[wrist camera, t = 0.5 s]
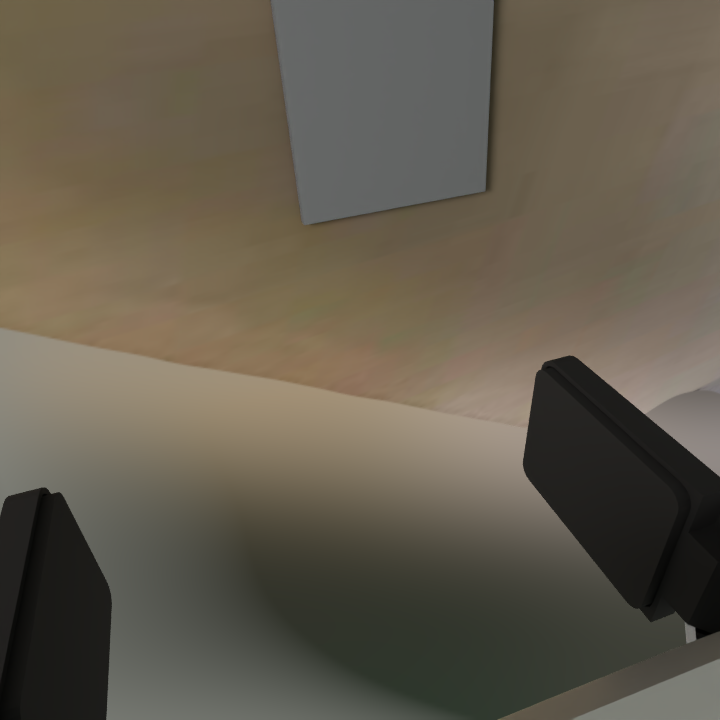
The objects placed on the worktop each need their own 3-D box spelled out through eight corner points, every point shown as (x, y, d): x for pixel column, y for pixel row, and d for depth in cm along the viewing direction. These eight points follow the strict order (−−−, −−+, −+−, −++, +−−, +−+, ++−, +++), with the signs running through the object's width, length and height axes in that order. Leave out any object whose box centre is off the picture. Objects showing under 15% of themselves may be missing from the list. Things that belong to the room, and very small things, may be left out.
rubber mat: (268, -17, 32) (270, -17, 31) (489, -37, 35) (495, -38, 34) (301, 221, 40) (304, 225, 39) (480, 188, 43) (485, 191, 42)
